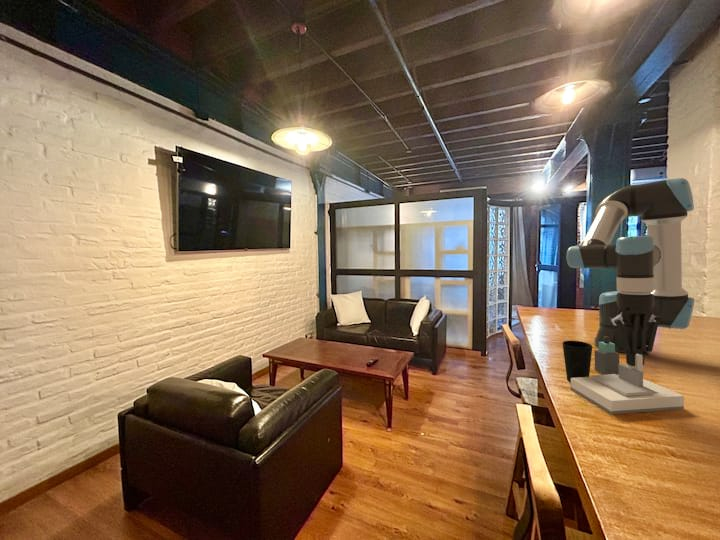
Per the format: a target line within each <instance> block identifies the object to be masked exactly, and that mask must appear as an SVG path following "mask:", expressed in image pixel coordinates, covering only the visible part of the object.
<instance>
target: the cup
mask: <svg viewBox="0 0 720 540" xmlns="http://www.w3.org/2000/svg"><path fill="white" fill-rule="evenodd" d="M561 344H562V351H563V357H564V364H565V365H564V366H565V374H566V380H567V382H569V383H571V378H578V377H590V374H591V373H590V372H591V365H592V364H591V362H592V355H593V354H592V353H593V345H592V344H591V343H589V342H586V341H579V340H564V341H563V342H562V343H561Z"/></svg>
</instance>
